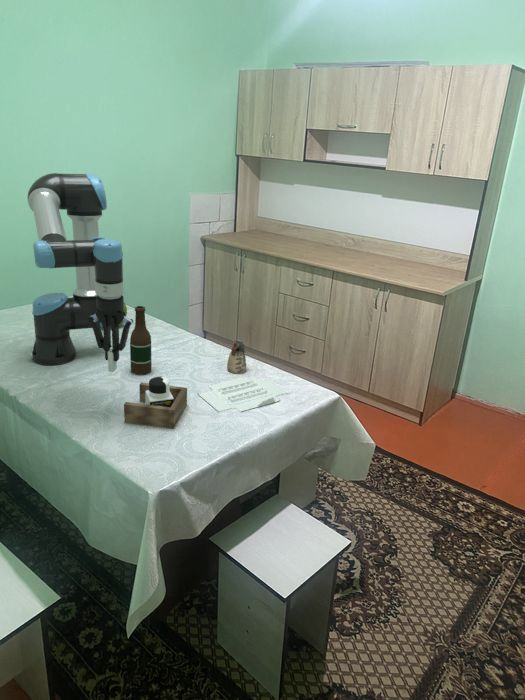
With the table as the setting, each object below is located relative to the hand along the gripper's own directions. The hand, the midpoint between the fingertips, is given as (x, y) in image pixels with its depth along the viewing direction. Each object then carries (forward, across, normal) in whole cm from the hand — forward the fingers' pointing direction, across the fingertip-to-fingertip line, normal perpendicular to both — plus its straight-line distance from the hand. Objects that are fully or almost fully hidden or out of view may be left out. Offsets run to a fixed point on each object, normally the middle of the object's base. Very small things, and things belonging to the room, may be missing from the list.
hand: (112, 369), depth 160 cm
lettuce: (+15, -32, +72) cm, 80 cm away
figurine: (+13, +32, +37) cm, 51 cm away
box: (+13, +13, -1) cm, 18 cm away
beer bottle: (+14, -1, +27) cm, 30 cm away
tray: (+14, +38, +19) cm, 44 cm away
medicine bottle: (+13, +15, -1) cm, 20 cm away
